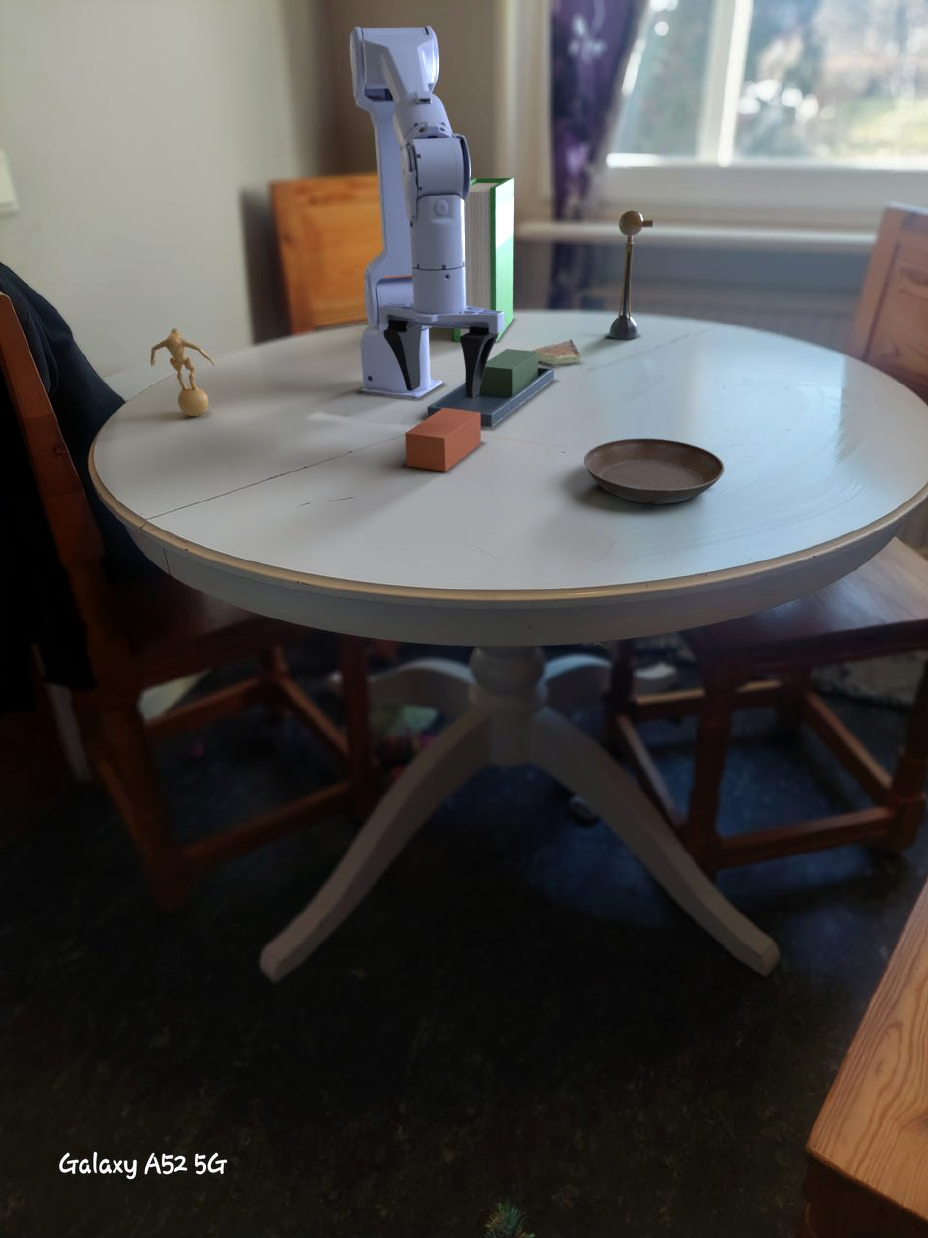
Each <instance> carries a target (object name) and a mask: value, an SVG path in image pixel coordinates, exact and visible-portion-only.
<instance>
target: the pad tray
mask: <svg viewBox="0 0 928 1238" xmlns="http://www.w3.org/2000/svg"><path fill="white" fill-rule="evenodd" d="M554 375H555V368H551V367H542V366H538V378H536V379H535V380H534V381H532V382H531V383H530V384H528V385H527V386H526V387H524V388H523V389H521V390H520V391H519V392H517V393H516V394H515V395H513V396H512V397H511V398H509V397H500V396H492V395H483V394H480V392H479V394H478V395H476V396H475V397H473V398H468V397H467V395H466V382H464V383H463V384H461V385H459V386H458V387H456V388H454V389H453V390H452V391H451V392H449V393H447V394H446V395H444V396H442V397H441V398H439V399H437V400H436V401H435V402H433V403H431V404H430V405H428V406H426V407H427V408H426V409H427V418H429V417H430V416H432V415H433V414H435V413H436V412H438V411H440V410H441V409H443V408H449V409H457V410H465V411H473V412H480V418H481V426H482V427H489V428H492V427H494V426H495V425H496V424H497V423H499V422H500V421H502V420H503V419H504V418H505V417H507V416H508V415H509V414H511V413H512V412H513V411H514V410H516V409H517V408H518V407H519V406H521V405H522V404H523V403H525V402H526V401H527V400H529V399H530V398H531V397H532V396H534V395H535V394H536V393H537V392H539V391H541V390H542V389H543V388H544V387H545V386H547V385H548V384H549V383H551V382H552V381H553V380H554V377H555V376H554Z"/></svg>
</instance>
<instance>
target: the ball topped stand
mask: <svg viewBox="0 0 928 1238" xmlns="http://www.w3.org/2000/svg"><path fill="white" fill-rule="evenodd" d="M653 226H654V220H653V219H651V220H650V219H643V217H642V214H641V213H639V212H638V211H637V210H632V209H631V210H628V211H626V212H624V213H623V214H622V215H621V216H620V218H619V222H618V228H619V231H620V232H621V234H622V235H624V236H626V237H627V242H624V245H625V254H624V266H623V267H624V269H623V281H622V290H621V298H620V305H619V309H618V316H617V318H616V319H614V321H613V322H612V323H611V325H610V328H609V332H608V334H609V335H608V337H609V338H610V339H616V340H632V339H636V338H637V337H638V325H637V323H636V322H635V320H634V319H633V318H632V312H631V311H632V309H631V285H632V267H633V252H634V245H635V243H636V242H633V236H637V235H638V234H639V233H640V232H641V231H642V229H643V228H653Z"/></svg>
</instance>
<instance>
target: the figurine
mask: <svg viewBox="0 0 928 1238" xmlns="http://www.w3.org/2000/svg"><path fill="white" fill-rule="evenodd" d="M163 348H166V349H167V350H168V352H169V354H170V355H171V356H172V357H170V358H169V362H170V365H171V366H172V367H173V369H174V371H176V372H177V374H176V379H177V380H178V383H179V385H180V388H181V390H180V391H179V394H178V396H177V404H178V408H179V409H180V410H181V412H183V413H184V414H185V415H187V416H190V417H199V416H201V415H203V414H204V413H206V411H207V410H208V407H209V402H210V401H209V397H208V394H207V393H206V391H204V389H202V388H201V387H198V385H197V384H195V383H194V379H195V372H196V371H195V370H196V367H195V366H194V364H193V363H192V359H191V358H190V357H189V356H187V357H186V358H185V350H186V348H188V349H191V350H195V351H198V353H199V354H200V355H202V356H203V358H205V359H207V360H208V361H209V362H210V363H211V365H212V366H213V367H214V366H215V364H214V362H213V360H212V358H211V357H210V356H209V355H208V354H207V353H206V352H205V351H203V349H202V348H201V347H199V346H198V345H196V344H194V343H192V342H190V341H187V340H185V339H183V337H181V335H180V331H179V330H178V329H177V328H172V329H171V331H170V334H169V335H168V337H167V338H165V339H163V340H162V341H160V342H159V343H157V344H156V345H155V344H154V346H152V348H151V349H150V352H151V354H150V366H151V367H154V366H156V363H155V362H157V361H156V360H155V358H156V351H158V350H160V349H163ZM183 366H184V368H185V370H187V371H189V372H190V373H189V375H188V379H189V384H190V385H189V386H188V385H186V384H185V383H184V381H183V374H182V368H183Z"/></svg>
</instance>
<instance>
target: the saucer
mask: <svg viewBox="0 0 928 1238" xmlns="http://www.w3.org/2000/svg"><path fill="white" fill-rule="evenodd" d="M583 464H584V466H585V468H586V470H587V472H588V473H589V475H590V476H591V477H592V478H593V480H594V481H595V482H596V483H597V484H598V485H599V486H601V487H602V488H603V489H604V490H606V491H607V492H608V493H610V494H611V495H613V496H616V497H619V498H621V499H623V500H626V501H631V502H636V503H641V504H642V503H643V504H652V505H653V504H654V505H662V504H663V505H665V504H675V503H680V502H685V501H689V500H691V499H693V498H696V497H698V496H699V495H700V494H701V495H702V493H704V492H706V491H707V490H709V489H710V488H711V487H712V486H714V485H715V484H716V482H718V481H719V480H720V478H721V477H722V476H723V474H724V473H725V470H726V469H725V464H724V462H723V461H722V459H720V458H719V457H718V456H717V455H715V454H714V453H713V452H711V451H709V450H707V449H705V448H702V447H699V446H697V445H694V444H690V443H687V442H682V441H677V440H670V439H664V438H650V437H649V438H648V437H647V438H646V437H644V438H642V437H641V438H640V437H639V438H625V439H617V440H613V441H612V440H611V441H608V442H605V443H602V444H599V445H597V446H595V447H593V448H591V449H590V450H588V451H587V452H586V453H585V455H584V458H583Z"/></svg>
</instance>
